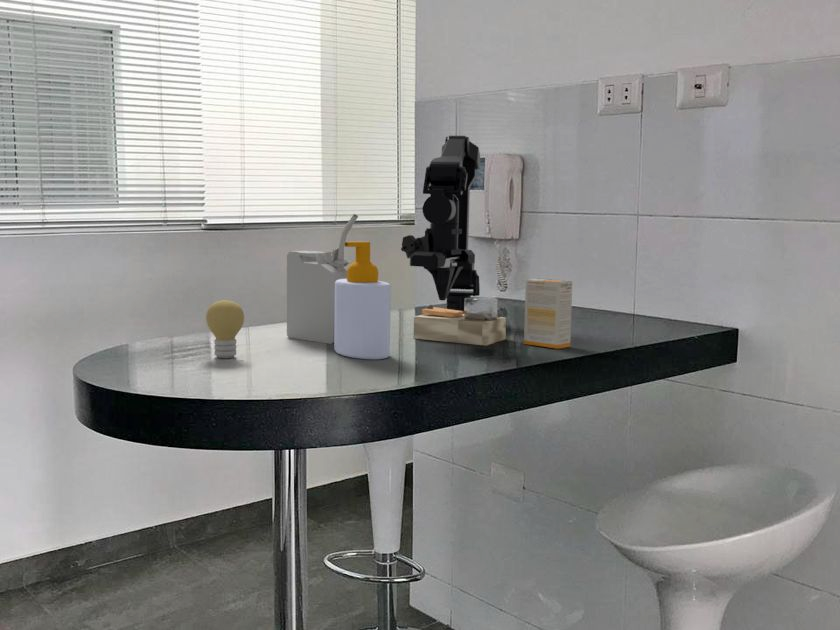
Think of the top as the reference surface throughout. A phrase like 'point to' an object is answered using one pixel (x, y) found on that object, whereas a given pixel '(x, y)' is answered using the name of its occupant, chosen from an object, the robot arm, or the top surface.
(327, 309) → the fuel canister
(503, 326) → the block
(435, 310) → the orange knobbed panel
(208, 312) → the light bulb
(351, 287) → the soap bottle
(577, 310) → the top surface
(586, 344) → the top surface
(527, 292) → the supplement box
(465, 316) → the silver metal cylinder
